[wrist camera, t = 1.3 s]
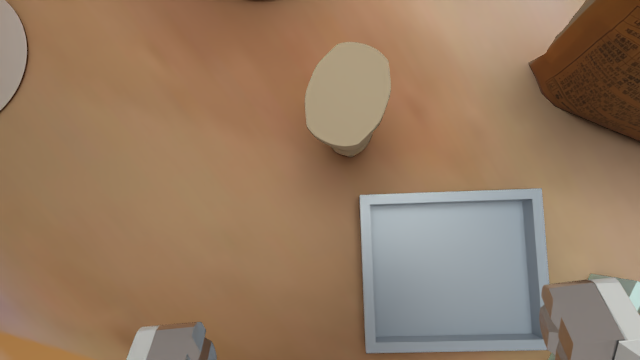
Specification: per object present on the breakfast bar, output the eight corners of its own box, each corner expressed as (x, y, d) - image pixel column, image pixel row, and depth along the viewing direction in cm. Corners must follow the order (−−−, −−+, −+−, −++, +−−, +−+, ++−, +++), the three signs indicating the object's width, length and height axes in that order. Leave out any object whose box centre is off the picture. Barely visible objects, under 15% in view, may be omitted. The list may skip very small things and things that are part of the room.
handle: (386, 115, 46) (403, 57, 31) (362, 182, 45) (367, 156, 30) (335, 97, 46) (328, 32, 31) (311, 164, 45) (291, 129, 31)
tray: (365, 345, 44) (366, 353, 41) (359, 197, 45) (359, 195, 42) (540, 341, 43) (554, 349, 40) (528, 191, 44) (541, 188, 41)
